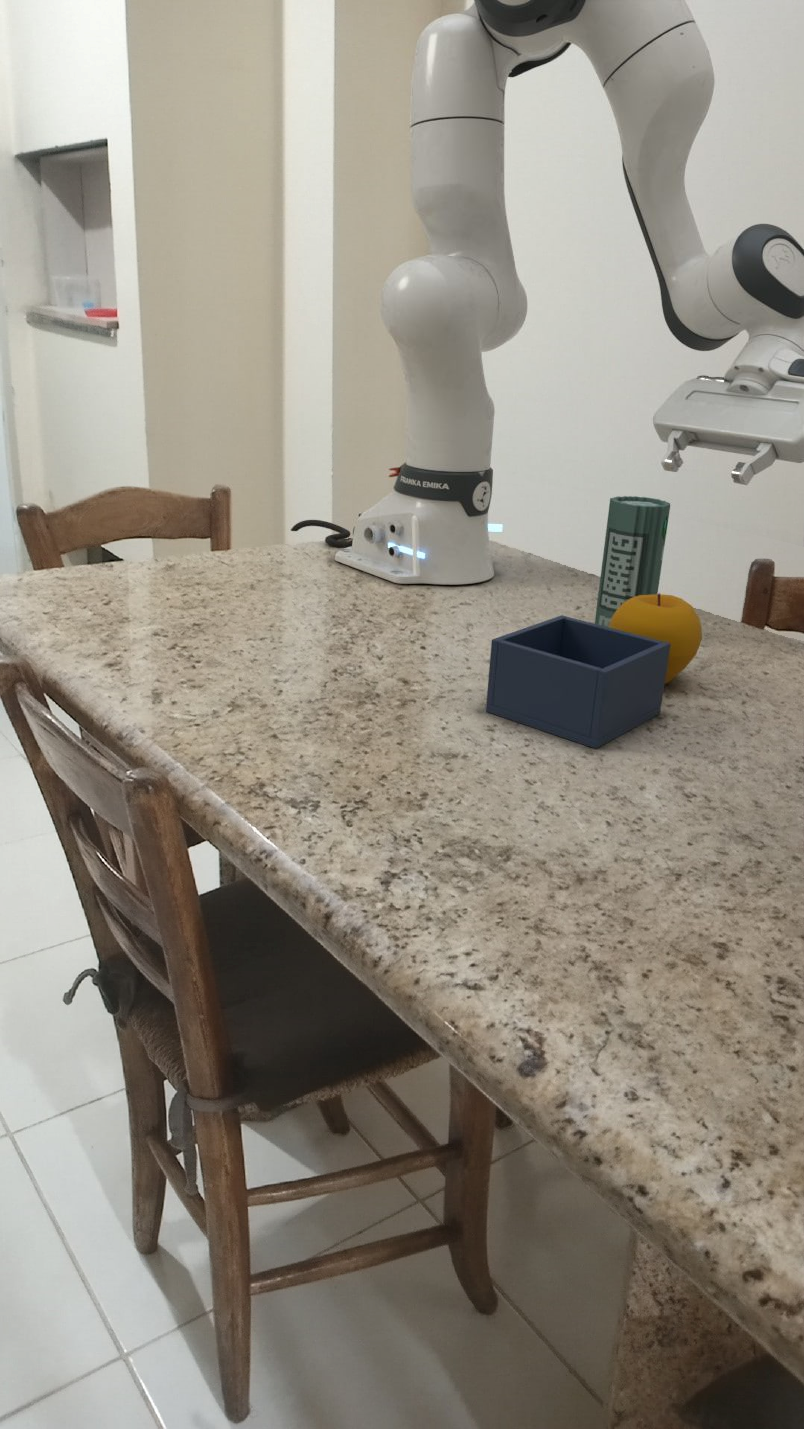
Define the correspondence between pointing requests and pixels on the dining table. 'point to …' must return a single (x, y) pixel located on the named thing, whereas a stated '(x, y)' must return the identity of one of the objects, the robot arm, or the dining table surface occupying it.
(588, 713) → the dark blue bin
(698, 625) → the apple
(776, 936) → the dining table surface
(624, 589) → the can
